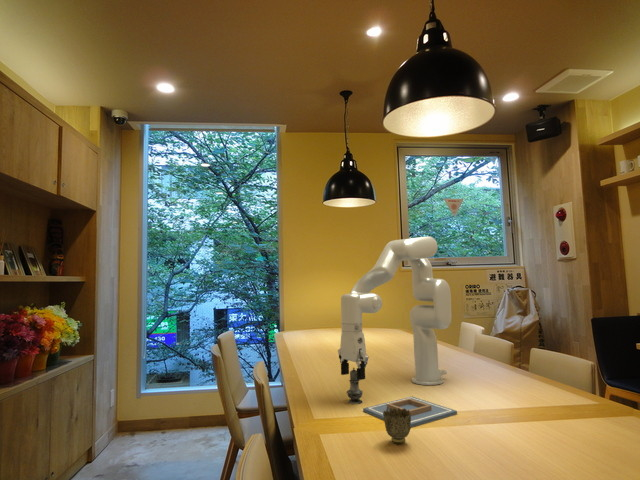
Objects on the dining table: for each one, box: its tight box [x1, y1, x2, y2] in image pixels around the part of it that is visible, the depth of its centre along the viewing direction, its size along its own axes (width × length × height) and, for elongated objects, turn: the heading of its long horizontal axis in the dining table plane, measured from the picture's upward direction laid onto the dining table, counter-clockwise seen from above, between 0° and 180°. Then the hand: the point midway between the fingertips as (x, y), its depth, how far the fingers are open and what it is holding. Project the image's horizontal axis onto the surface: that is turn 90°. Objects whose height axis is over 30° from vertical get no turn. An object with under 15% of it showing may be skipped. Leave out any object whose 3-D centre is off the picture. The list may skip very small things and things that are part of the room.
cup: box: [383, 408, 411, 446], centre depth 109 cm, size 8×7×8 cm
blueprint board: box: [362, 395, 458, 429], centre depth 132 cm, size 22×20×2 cm
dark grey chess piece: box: [346, 367, 364, 405], centre depth 146 cm, size 6×6×12 cm
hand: (352, 376), depth 146 cm, fingers open, 9 cm apart
